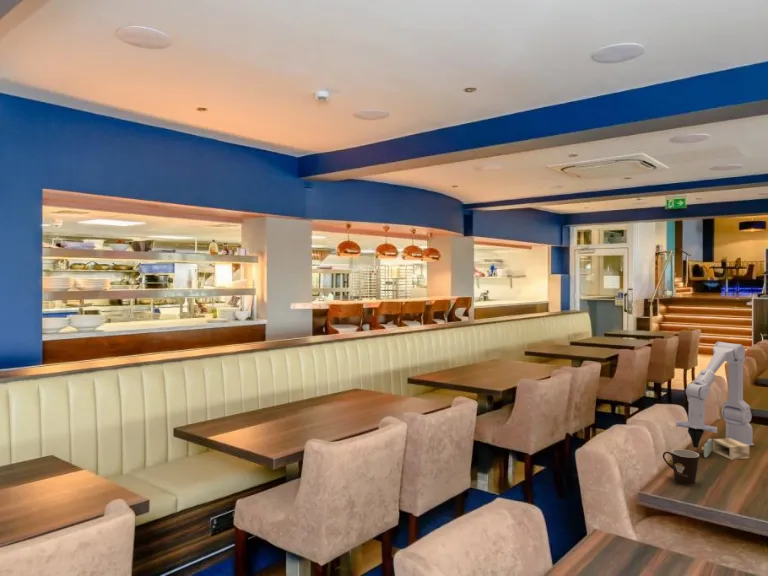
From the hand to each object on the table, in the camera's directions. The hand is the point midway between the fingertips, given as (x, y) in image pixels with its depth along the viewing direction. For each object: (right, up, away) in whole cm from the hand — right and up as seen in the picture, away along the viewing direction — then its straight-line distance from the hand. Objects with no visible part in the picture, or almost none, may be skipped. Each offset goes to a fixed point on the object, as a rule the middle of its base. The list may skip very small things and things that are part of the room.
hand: (695, 447), depth 231 cm
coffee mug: (-20, -4, -27) cm, 34 cm away
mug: (-13, -4, -14) cm, 19 cm away
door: (+4, -2, -1) cm, 5 cm away
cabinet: (+13, -3, -2) cm, 13 cm away
